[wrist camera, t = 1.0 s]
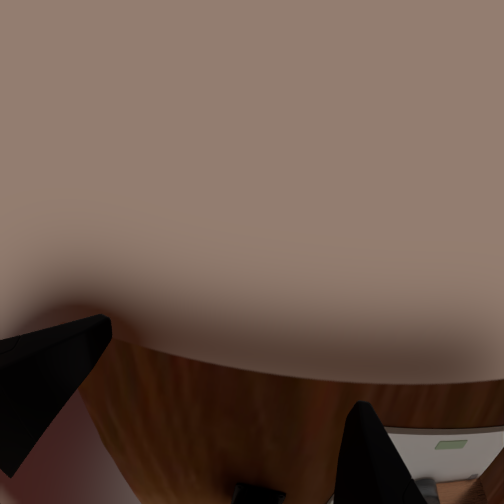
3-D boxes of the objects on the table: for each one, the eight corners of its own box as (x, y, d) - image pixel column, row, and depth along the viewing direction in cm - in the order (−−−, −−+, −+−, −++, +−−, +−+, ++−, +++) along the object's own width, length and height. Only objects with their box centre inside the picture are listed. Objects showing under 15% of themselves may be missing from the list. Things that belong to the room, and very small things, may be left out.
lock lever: (390, 500, 23) (392, 529, 18) (409, 479, 22) (413, 510, 17) (465, 493, 21) (471, 518, 16) (485, 472, 20) (494, 497, 15)
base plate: (437, 513, 23) (438, 518, 22) (318, 514, 28) (317, 520, 26) (513, 424, 19) (516, 430, 18) (375, 425, 23) (376, 433, 22)
